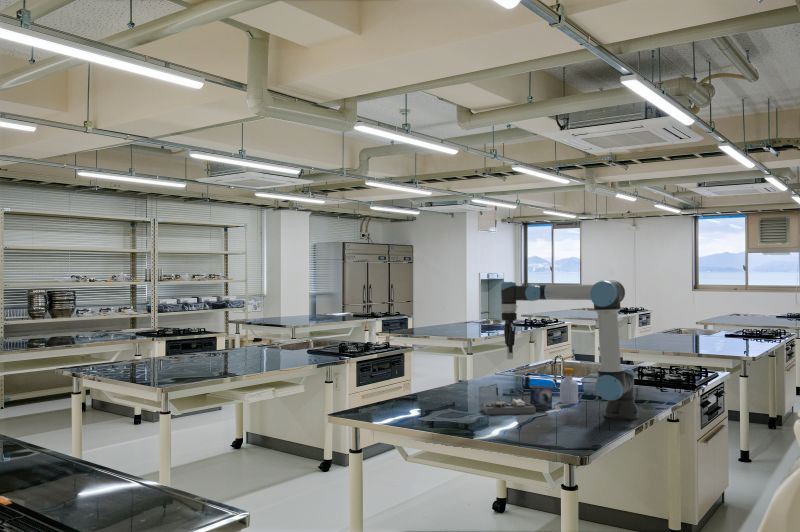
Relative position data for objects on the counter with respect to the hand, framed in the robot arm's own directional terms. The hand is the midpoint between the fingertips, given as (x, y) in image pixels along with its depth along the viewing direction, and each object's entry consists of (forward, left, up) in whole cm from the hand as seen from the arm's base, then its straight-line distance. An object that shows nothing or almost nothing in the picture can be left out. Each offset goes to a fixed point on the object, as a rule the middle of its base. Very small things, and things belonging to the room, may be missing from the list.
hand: (510, 359), depth 314 cm
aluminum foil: (+72, -81, -26) cm, 111 cm away
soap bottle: (+10, -34, -25) cm, 43 cm away
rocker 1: (-7, +8, -20) cm, 23 cm away
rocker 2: (-7, -2, -20) cm, 22 cm away
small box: (+1, -16, -25) cm, 30 cm away
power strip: (-7, +3, -25) cm, 26 cm away
